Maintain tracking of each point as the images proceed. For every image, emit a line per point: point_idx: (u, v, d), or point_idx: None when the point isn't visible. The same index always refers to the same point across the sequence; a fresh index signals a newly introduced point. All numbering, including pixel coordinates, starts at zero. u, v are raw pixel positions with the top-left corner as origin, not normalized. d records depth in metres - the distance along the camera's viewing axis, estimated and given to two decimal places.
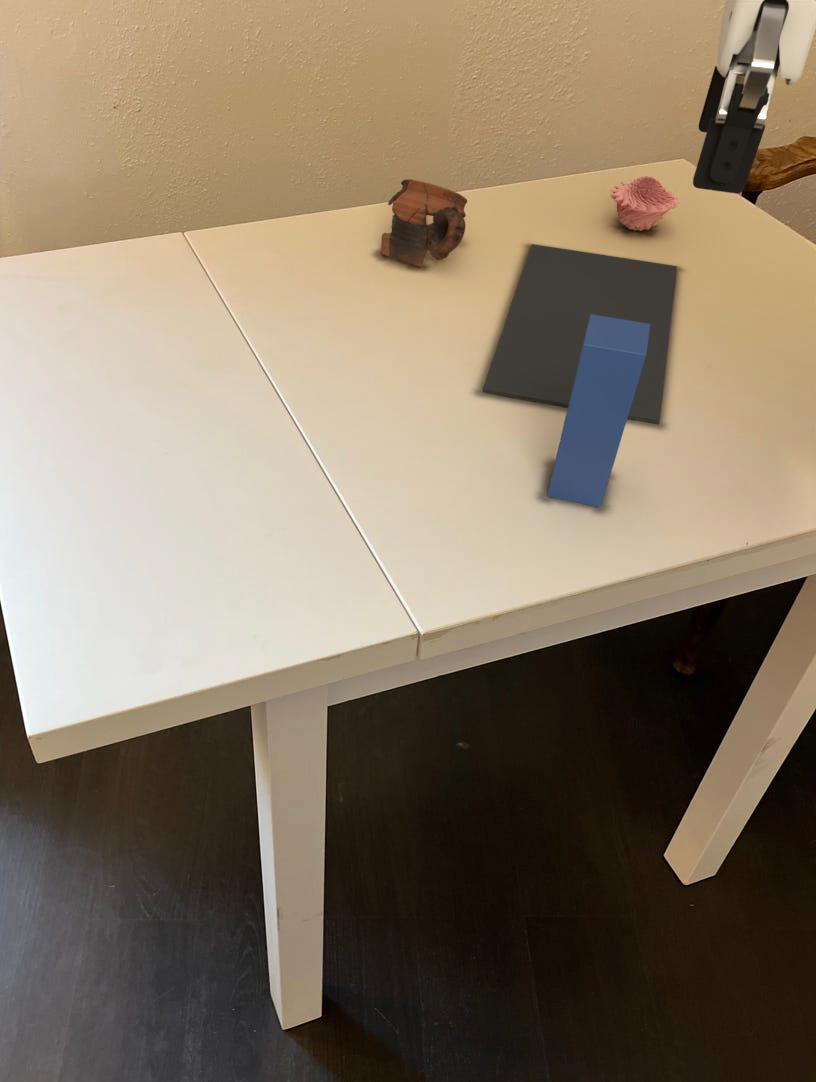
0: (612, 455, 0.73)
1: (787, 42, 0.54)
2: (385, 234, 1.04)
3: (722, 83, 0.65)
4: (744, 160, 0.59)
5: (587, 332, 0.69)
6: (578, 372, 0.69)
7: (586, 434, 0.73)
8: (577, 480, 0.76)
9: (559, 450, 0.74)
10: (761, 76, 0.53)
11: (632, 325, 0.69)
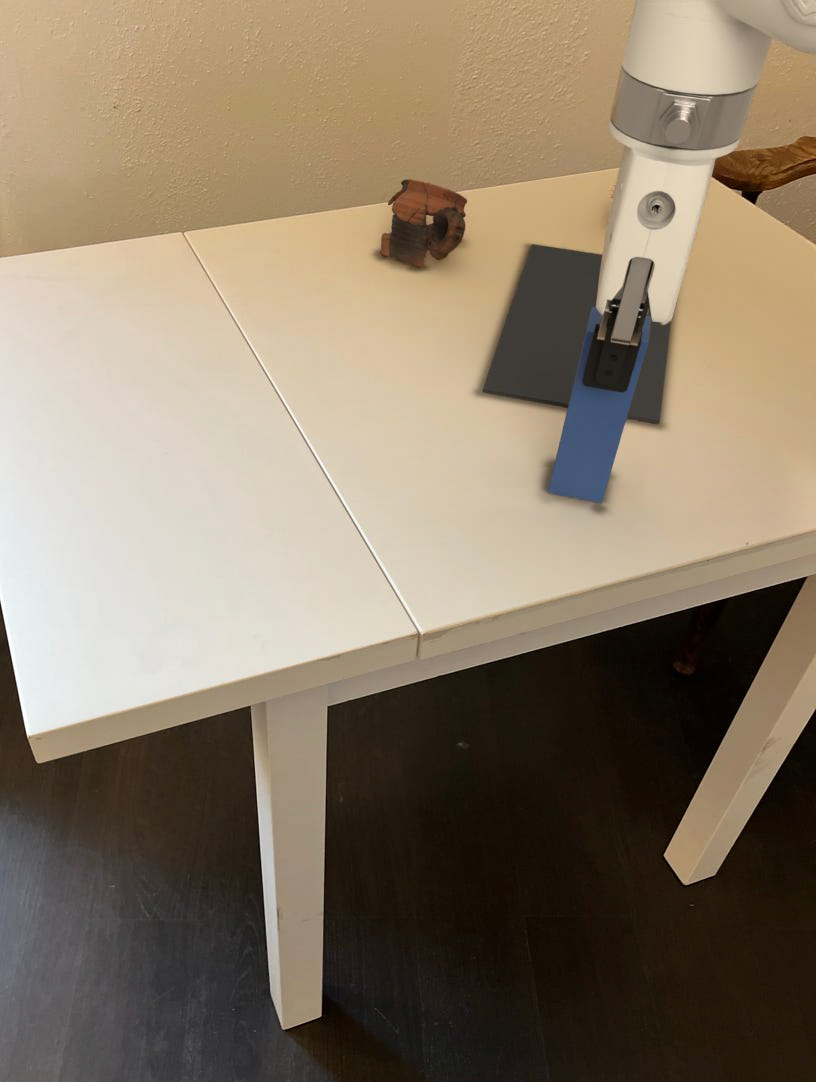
0: (614, 447, 0.73)
1: (655, 294, 0.58)
2: (385, 234, 1.04)
3: None
4: (625, 367, 0.66)
5: (589, 321, 0.69)
6: (581, 360, 0.70)
7: (588, 426, 0.73)
8: (578, 475, 0.76)
9: (561, 443, 0.74)
10: None
11: None
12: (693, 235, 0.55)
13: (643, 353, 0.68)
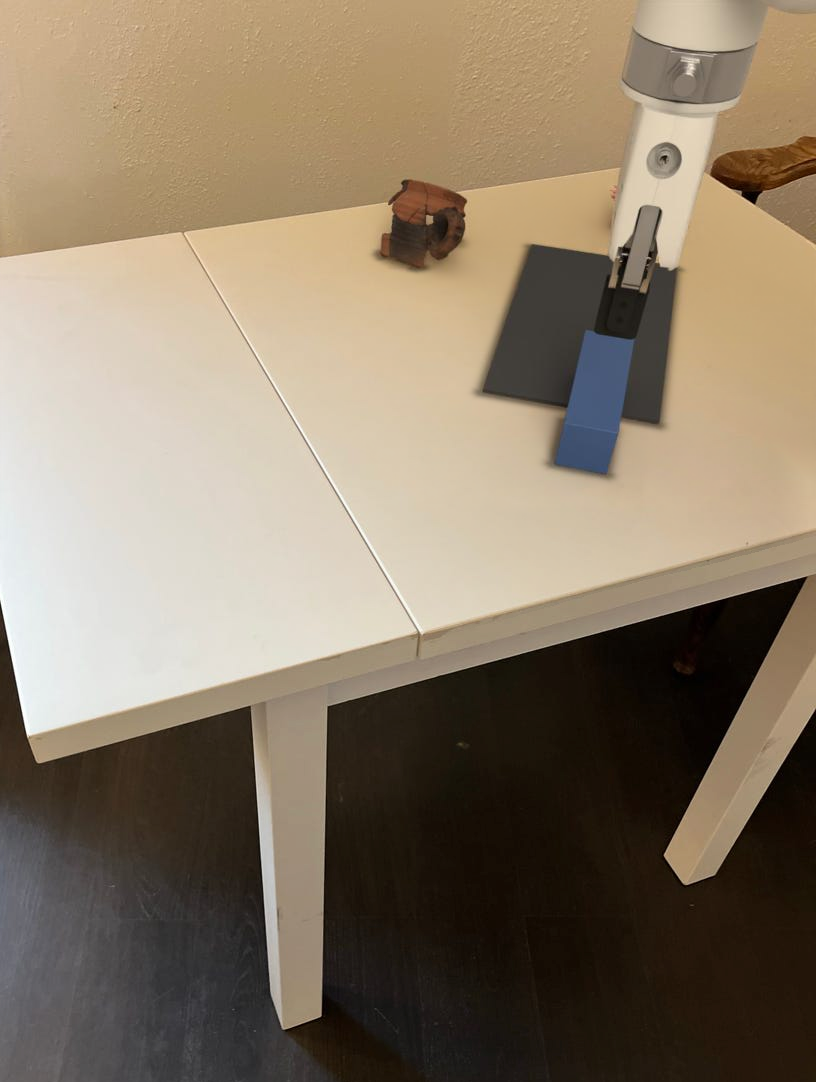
0: (621, 394, 0.80)
1: (663, 240, 0.62)
2: (385, 234, 1.04)
3: None
4: (634, 315, 0.71)
5: None
6: (583, 343, 0.85)
7: (595, 380, 0.81)
8: (592, 411, 0.78)
9: (573, 389, 0.80)
10: None
11: None
12: (698, 184, 0.60)
13: (632, 343, 0.85)
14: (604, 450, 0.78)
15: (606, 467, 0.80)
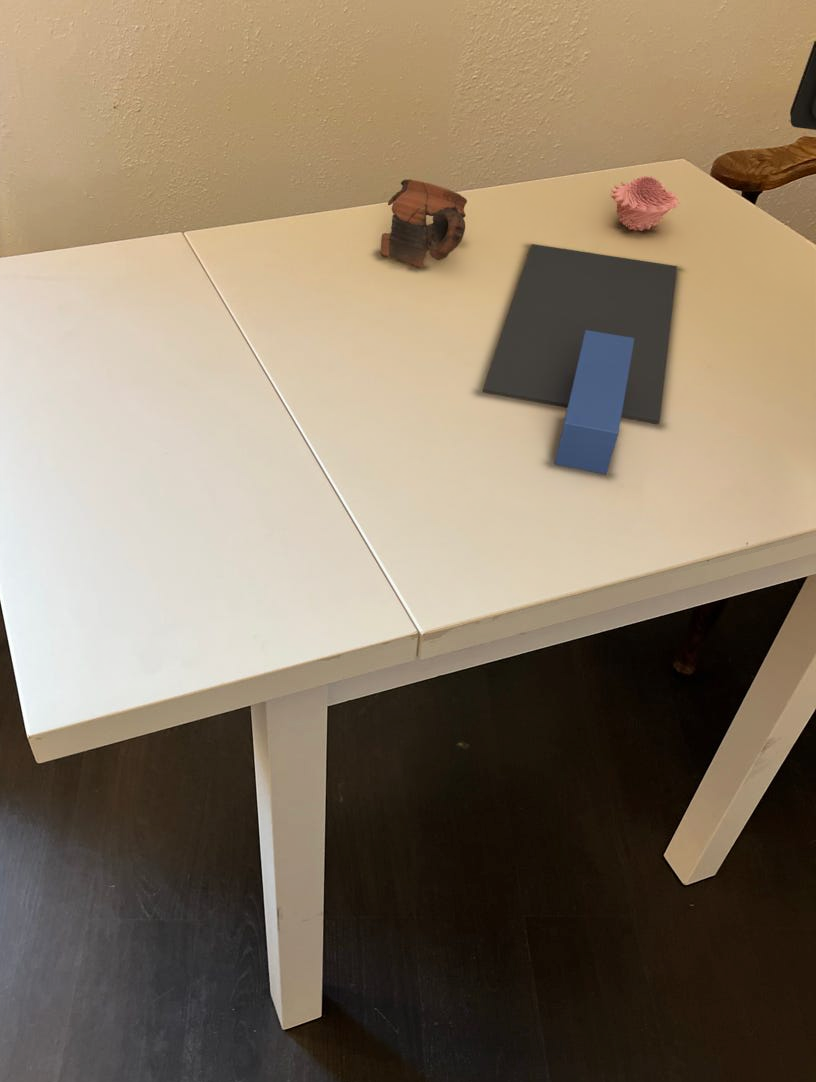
0: (621, 394, 0.80)
1: None
2: (385, 234, 1.04)
3: None
4: None
5: None
6: (583, 343, 0.85)
7: (595, 380, 0.81)
8: (592, 411, 0.78)
9: (573, 389, 0.80)
10: None
11: None
12: None
13: (632, 343, 0.85)
14: (604, 450, 0.78)
15: (606, 467, 0.80)
